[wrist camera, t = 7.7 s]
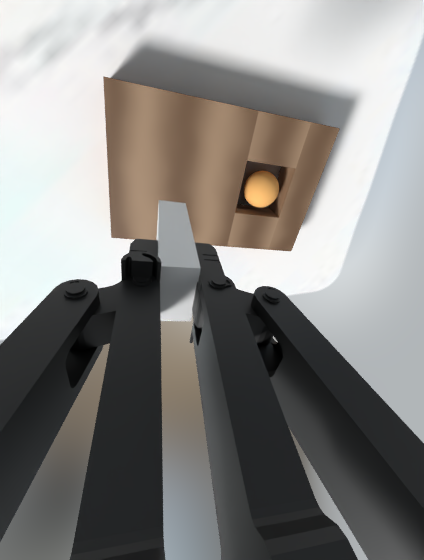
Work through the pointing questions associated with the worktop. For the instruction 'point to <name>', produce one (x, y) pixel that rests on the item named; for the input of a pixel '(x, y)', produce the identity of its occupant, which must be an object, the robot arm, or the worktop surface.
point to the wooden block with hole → (207, 165)
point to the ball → (261, 188)
